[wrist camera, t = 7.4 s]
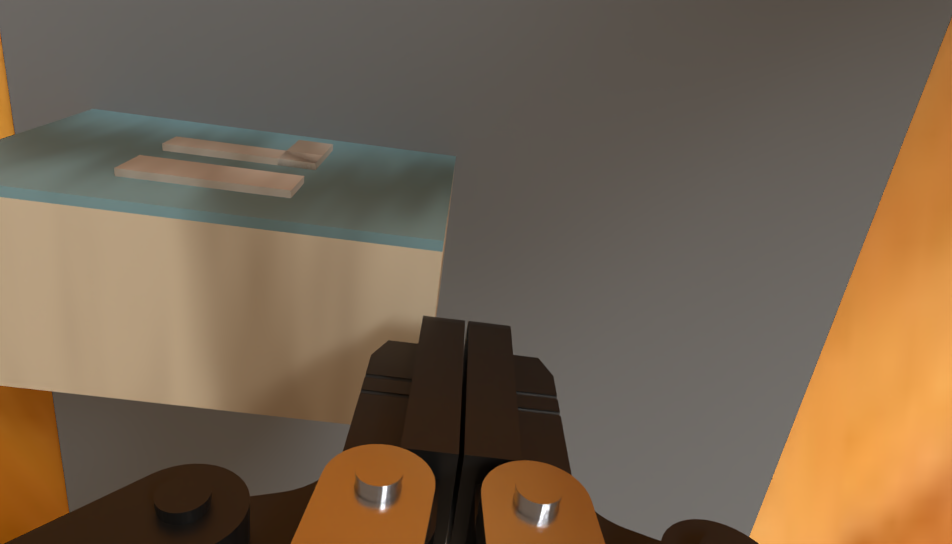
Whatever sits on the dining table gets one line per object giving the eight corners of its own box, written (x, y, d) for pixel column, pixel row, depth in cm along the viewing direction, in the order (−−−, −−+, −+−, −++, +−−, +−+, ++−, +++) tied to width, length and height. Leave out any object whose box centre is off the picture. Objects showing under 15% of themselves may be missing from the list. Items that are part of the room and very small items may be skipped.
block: (444, 232, 11) (-104, 163, 11) (421, 432, 13) (-58, 379, 13) (456, 150, 17) (92, 102, 16) (438, 298, 18) (107, 257, 18)
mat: (956, -18, 15) (965, -17, 15) (726, 579, 23) (729, 586, 23) (-19, -163, 14) (-28, -165, 14) (75, 511, 22) (70, 517, 22)
